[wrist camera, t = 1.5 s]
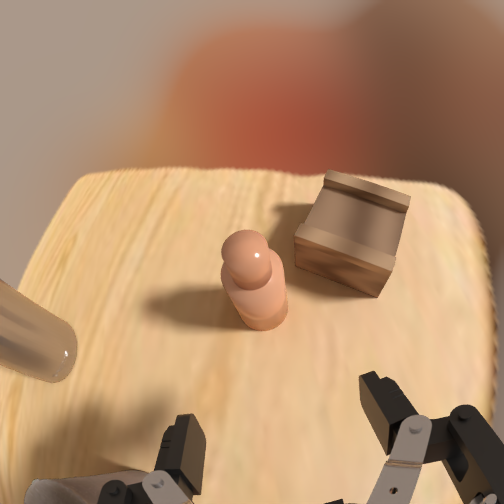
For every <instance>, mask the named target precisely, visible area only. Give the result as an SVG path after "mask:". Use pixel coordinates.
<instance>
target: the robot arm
mask: <svg viewBox="0 0 504 504" xmlns="http://www.w3.org/2000/svg"><path fill="white" fill-rule="evenodd" d="M76 353H77V341H76V336H75V333H74V331H73V329H72V327H71V326H70V325H69V324H68V323H67V322H65V321H64V320H62V319H60V318H59V317H57V316H55V315H54V314H52V313H50V312H49V311H47V310H46V309H44V308H43V307H41V306H39V305H38V304H36V303H35V302H33V301H32V300H30V299H29V298H27V297H26V296H24V295H23V294H21V293H20V292H18V291H17V290H15V289H14V288H12V287H11V286H10V285H8V284H7V283H5V282H4V281H2V280H1V279H0V365H2V366H5V367H7V368H10V369H12V370H15V371H18V372H20V373H23V374H26V375H29V376H31V377H34V378H37V379H40V380H44V381H47V382H50V383H56V382H59V381H61V380H63V379H64V378H65V377H66V376H67V375H68V374H69V373H70V371H71V369H72V367H73V365H74V362H75V359H76ZM359 389H360V401H361V405H362V408H363V410H364V412H365V414H366V416H367V418H368V420H369V422H370V424H371V426H372V428H373V430H374V432H375V434H376V436H377V438H378V440H379V441H380V443H381V445H382V447H383V450H384V452H385V454H386V456H387V455H390V457H389V459H388V461H386V463H385V464H384V467H383V469H382V471H381V474H380V476H379V478H378V481H377V483H376V485H375V487H374V489H373V492H372V494H371V496H370V498H369V500H368V502H367V504H409V503H410V500H411V498H412V495H413V492H414V489H415V486H416V483H417V480H418V477H419V474H420V471H421V467H422V464H426V463H431V462H436V461H440V460H441V461H442V463H443V465H444V466H445V468H446V470H447V472H448V474H449V476H450V478H451V480H452V482H453V484H454V486H455V487H456V489H457V491H458V493H459V495H460V497H461V499H462V501H463V503H464V504H504V444H503V443H502V441H501V440H500V439H499V437H498V436H497V435H496V433H495V432H494V431H493V429H492V428H491V427H490V425H489V424H488V423H487V422H486V420H485V419H484V418H483V416H482V415H481V414H480V413H479V411H478V410H477V409H476V408H475V407H474V406H471V405H460V406H458V407H456V408H455V409H453V410H452V412H451V413H450V416H448V417H443V418H439V419H429V418H428V417H426V416H423V415H419V414H418V413H417V411H416V410H415V408H414V407H413V406H412V404H411V403H410V401H409V400H408V399H407V397H406V396H405V395H404V393H403V392H402V390H401V389H400V388H399V386H398V385H397V383H396V382H395V381H394V380H392V379H390V378H388V377H384V378H382V379H380V378H379V377H378V375H377V374H376V372H375V371H371V372H368V373H366V374H363V375H360V376H359ZM160 448H161V449H160V450H159V454H158V457H157V461H156V465H155V469H154V471H153V472H150V473H149V474H147V475H146V476H145V477H144V479H143V482H139V483H135V484H130V485H126V484H125V483H124V482H122V481H120V480H111V481H108V482H107V483H105V484H104V485H103V487H102V489H101V492H100V495H99V498H98V502H97V504H194V503H193V502H192V498H193V495H201V488H202V478H203V469H204V459H205V450H206V438H205V434H204V432H203V430H202V429H201V427H200V425H199V423H198V421H197V419H196V417H195V416H194V414H184V415H178V416H177V418H176V422H175V425H173V426H169V427H168V429H167V430H166V431H165V432H164V435H163V439H162V442H161V446H160ZM325 504H344V503H343V499H339V500H336V501H332V502H329V503H325ZM348 504H355V503H348Z"/></svg>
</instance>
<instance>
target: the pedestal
mask: <svg viewBox="0 0 504 504" xmlns="http://www.w3.org/2000/svg"><path fill="white" fill-rule="evenodd" d="M410 198H411V196H409V195H406V194H403V193H400V192H398V191H395V190H392V189H389V188H386V187H383V186H380V185H378V184H375V183H372V182H369V181H365V180H362V179H359V178H356V177H353V176H350V175H347V174H343V173H340V172H336V171H333V170H330V169H328V171H327V173H326V175H325V177H324V185H323V187H322V189H321V191H320V193H319V195H318V197H317V199H316V201H315V203H314V205H313V207H312V209H311V211H310V213H309V215H308V217H307V219H306V221H305V222H304V224H303V223H300V225H299V227H298V228H297V230H296V232H295V234H294V245H295V266H297V267H299V268H302V269H305V270H307V271H310V272H312V273H315V274H318V275H320V276H323V277H325V278H328V279H330V280H333V281H336V282H338V283H341V284H343V285H346V286H349V287H351V288H354V289H356V290H359V291H361V292H364V293H367V294H369V295H372V296H374V297H377V298H378V296H379V294H380V293H381V291H382V289H383V287H384V285H385V284H386V282H387V280H388V278H389V277H390V275H391V273H392V271H393V267H394V264H395V260H396V257H395V255H396V252H397V248H398V244H399V240H400V237H401V233H402V229H403V224H404V220H405V216H406V212H407V210H408V207H409V203H410Z"/></svg>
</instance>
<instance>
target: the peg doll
mask: <svg viewBox="0 0 504 504" xmlns="http://www.w3.org/2000/svg"><path fill="white" fill-rule="evenodd" d="M221 253H222V258H223V260H224V263H223V266H222V269H221V281H222V284H223V286H224V288H225V290H226V292H227V293H228V295H229V297H230V299H231V300H232V302H233V304H234V306H235V308H236V309H237V311H238V313H239V315H240V316H241V318H242V320H243V321H244V323H245V324H246V325H247V326H249V327H250V328H252V329H254V330H258V331H267V330H271V329H274V328H276V327H277V326H279V325H280V324H281V323H282V322H283V320H284V319H285V317H286V315H287V311H288V303H287V295H286V286H285V278H284V269H283V264H282V261H281V259H280V257H279V256H278V255H277V254H276V253H275V252H274V251H273V250H271V249H270V248H268V244H267V241H266V239H265V238H264V237H263V235H261V234H260V233H258V232H256V231H253V230H241V231H238V232H235V233H233V234H232V235H230V236H229V237H228V238H227V239H226V240H225V242H224V244H223V246H222V251H221Z"/></svg>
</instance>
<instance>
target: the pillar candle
mask: <svg viewBox="0 0 504 504" xmlns="http://www.w3.org/2000/svg"><path fill="white" fill-rule="evenodd" d="M147 474H149V473H146V472H143V471H137V470H127V471H119V472H114V473H108V474H101V475H94V476H86V477H74V478H64V479H42V480H39V479H38V478H37V479H34V480H33V481H32V484H31V485H30V486H29V488H28V489H27V491H26V494H25V499H24V504H97V502H98V498H99V495H100V492H101V489H102V487H103V485H104V484H105V483H107V482H108V481H111V480H120V481H122V482H124V483H125V484H126V485H130V484H135V483H139V482H143V479H144V477H145V476H146V475H147Z"/></svg>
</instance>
